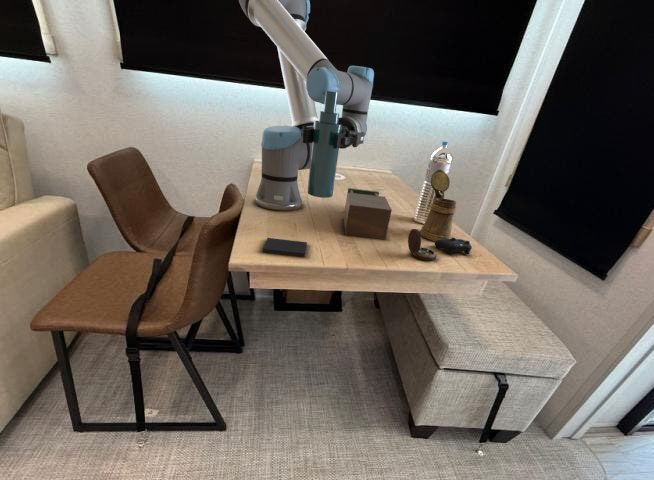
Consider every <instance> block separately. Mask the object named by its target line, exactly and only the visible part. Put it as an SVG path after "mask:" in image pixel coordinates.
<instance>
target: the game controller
mask: <svg viewBox="0 0 654 480" xmlns="http://www.w3.org/2000/svg"><path fill="white" fill-rule="evenodd" d="M434 246H435V247H436V248H437V249H442V250H445V251H446V253H447V254H449V255H453V253H454V252H462V253H464V255H469V254H470V252H471V250H472V245H471V244H470V241H469V240H465V239H462V238H456V237H451V238H450V239H440V240H437V241H434Z"/></svg>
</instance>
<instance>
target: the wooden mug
mask: <svg viewBox="0 0 654 480" xmlns="http://www.w3.org/2000/svg"><path fill="white" fill-rule="evenodd" d="M450 181H451V180H450V177H449V174H448V175H447V174H446V173H445V172H444V171H442V170H441V169H440V170H438V171H436V172H435V173H434V174H433V175H432V178H431V185H432V188H433V189H434V191H435V196H434V199H433V203H432V205H431V206H430V208H431V209H430V212H429V214H428V217H427V219H426V221H425V224H423V226H421V229H420V230H419V233H420V236H421V237H423V238H425V239H426V240H430V241H433V242H436V241H437V240H440V239H452V234H451V233H452V228H453V222H454V217H455V213H456V212H457V201H455V200H453V199H449V198H445V192H447V191H448V189H449V188H450Z"/></svg>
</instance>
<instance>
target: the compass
mask: <svg viewBox="0 0 654 480" xmlns="http://www.w3.org/2000/svg"><path fill="white" fill-rule="evenodd" d="M421 245H422V236H421V234H420V228H412V229H410V231H409V233H408V236H407V246H408V249H409V252H410V253H412V256H414V257H415V258H417V259H419V260H423V261H430V262H431V261H434V260H436V259H437V254H436V252H435V251H434V250H433V249H431V248H427V247H422V246H421Z"/></svg>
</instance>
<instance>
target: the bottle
mask: <svg viewBox="0 0 654 480" xmlns="http://www.w3.org/2000/svg"><path fill="white" fill-rule="evenodd" d="M337 96H338V92H331V91H326V96H325V104H323V105H324V108H323V110H320V111H319V115H318V119H319V121H314V130H313V140H312V150H311V161H310V169H309V173H308V183H307V195H309V196H312V197H316V198H323V199H328V198H333V194H334V189H335V181H336V174H337V167H338V159H339V152H340V148H337V149H334V148H333V146H334V139H335V135H336V134H339V133H341V131H342V124H339V123H338V120H339V118H340V114H339V113H337V112H336V111H337V105H336V104H337Z"/></svg>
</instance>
